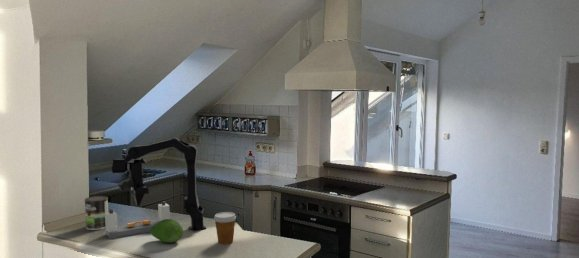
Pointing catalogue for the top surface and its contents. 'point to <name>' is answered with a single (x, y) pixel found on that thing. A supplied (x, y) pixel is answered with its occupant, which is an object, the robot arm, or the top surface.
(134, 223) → the orange dumbbell
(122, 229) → the grey board
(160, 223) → the fruit
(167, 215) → the plug
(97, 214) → the coffee can
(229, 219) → the disposable coffee cup
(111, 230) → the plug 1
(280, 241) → the top surface
